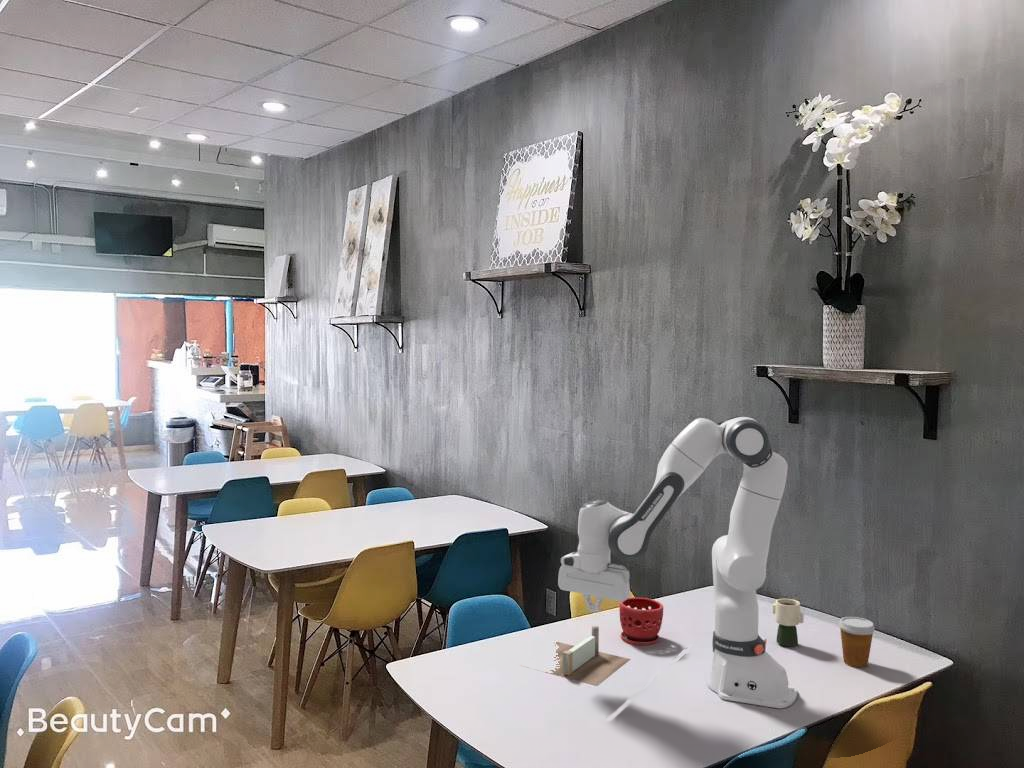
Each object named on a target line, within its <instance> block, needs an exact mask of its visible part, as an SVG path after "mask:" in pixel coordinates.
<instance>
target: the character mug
mask: <svg viewBox="0 0 1024 768" xmlns="http://www.w3.org/2000/svg"><path fill="white" fill-rule="evenodd" d="M772 614H774V615H775V618H774V619H775V622H776V623H777V624H778V627H777V632H776V638H775V639H776V643H778V645H781V646H790V647H792V646H797V645H799V639H798V631H797V626H798V625H799V624H803V623H804V618H805V617H804V615H805V614H804V612H802V611H801V602H800V601H798V600H797V599H793V598H792V599H791V598H779V599H776V600H775V603H772Z"/></svg>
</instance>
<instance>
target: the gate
mask: <svg viewBox="0 0 1024 768" xmlns="http://www.w3.org/2000/svg"><path fill="white" fill-rule="evenodd" d="M573 646H574V647H573V648H571V649H570V650H566V651H564V652H563V664H562V674H566V675H570V674H571V673H572V672H573V671H574V670H576V669H577V668H578V667H580V666H581V665H583V664H584V663H585V662H587V661H588V660H589V659H591V658H592V657H594V656H595V636H592V635H589V636H588V637H586V638H585V639H583V640H582V641H580V642H579V643H578V644H575V645H573Z"/></svg>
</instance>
